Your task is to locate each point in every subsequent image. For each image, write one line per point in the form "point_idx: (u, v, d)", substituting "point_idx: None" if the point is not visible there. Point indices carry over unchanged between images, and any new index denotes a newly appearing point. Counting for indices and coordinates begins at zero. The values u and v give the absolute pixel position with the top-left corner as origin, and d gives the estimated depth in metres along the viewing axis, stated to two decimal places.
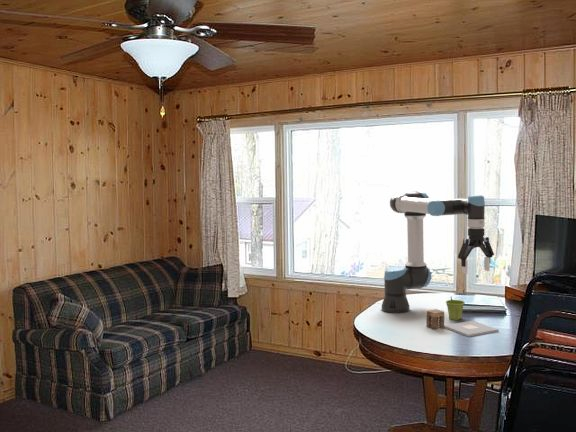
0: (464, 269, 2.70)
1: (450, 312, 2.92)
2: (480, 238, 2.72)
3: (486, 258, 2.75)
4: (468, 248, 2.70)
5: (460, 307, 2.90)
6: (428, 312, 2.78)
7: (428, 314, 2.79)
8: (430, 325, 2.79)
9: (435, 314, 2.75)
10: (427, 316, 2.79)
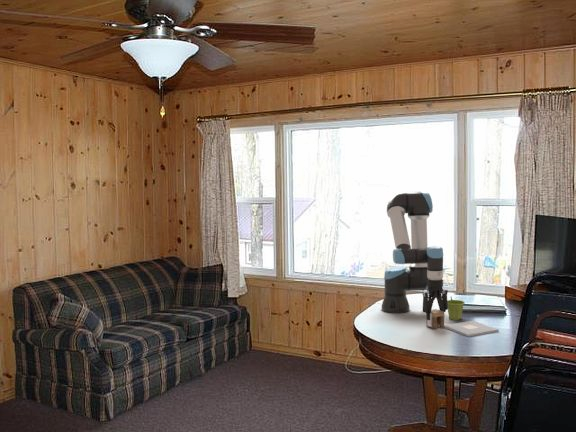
0: (429, 322, 2.77)
1: (450, 312, 2.92)
2: (439, 288, 2.77)
3: None
4: (429, 300, 2.77)
5: (460, 307, 2.90)
6: None
7: None
8: None
9: (435, 314, 2.75)
10: None
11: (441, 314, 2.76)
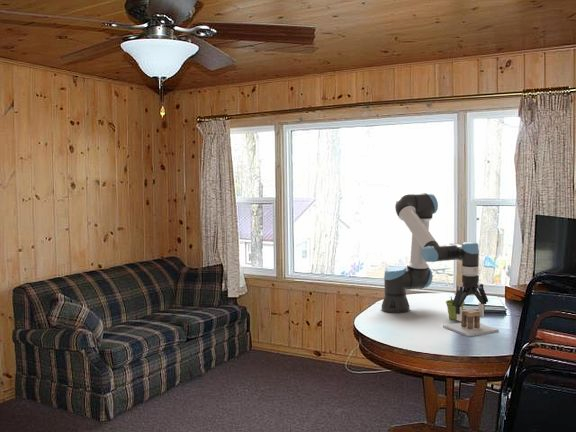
0: (458, 316, 2.70)
1: (450, 312, 2.92)
2: (474, 285, 2.72)
3: (480, 305, 2.75)
4: (462, 295, 2.71)
5: None
6: (463, 312, 2.73)
7: (463, 314, 2.73)
8: (465, 325, 2.74)
9: (471, 314, 2.69)
10: (462, 316, 2.74)
11: (477, 314, 2.71)
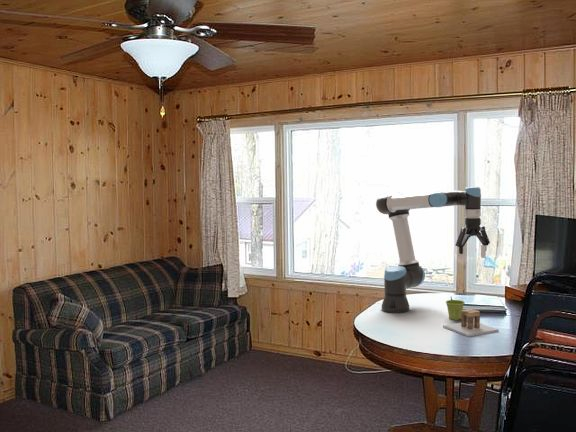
0: (461, 256, 2.88)
1: (450, 312, 2.92)
2: (477, 227, 2.89)
3: (482, 246, 2.93)
4: (465, 236, 2.88)
5: (460, 307, 2.90)
6: (463, 312, 2.73)
7: (463, 314, 2.73)
8: (465, 325, 2.74)
9: (471, 314, 2.69)
10: (462, 316, 2.74)
11: (477, 314, 2.71)
